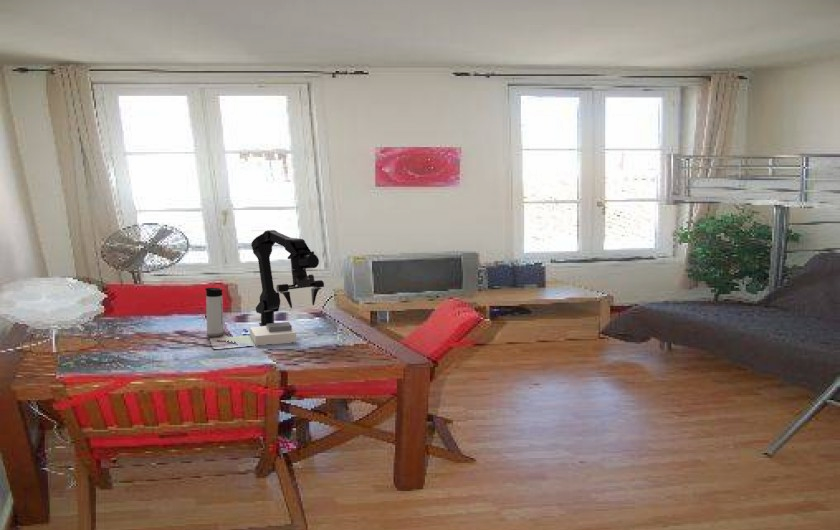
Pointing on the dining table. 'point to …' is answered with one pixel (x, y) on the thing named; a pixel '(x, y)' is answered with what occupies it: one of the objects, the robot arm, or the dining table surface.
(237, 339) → the mat
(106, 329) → the dining table surface
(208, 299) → the travel mug
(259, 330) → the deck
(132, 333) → the dining table surface
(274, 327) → the grey rectangular block
